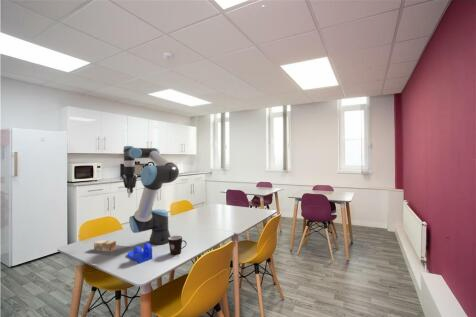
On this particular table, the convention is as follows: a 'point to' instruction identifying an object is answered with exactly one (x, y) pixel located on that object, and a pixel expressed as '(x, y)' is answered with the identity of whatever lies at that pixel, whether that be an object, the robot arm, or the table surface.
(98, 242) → the birch pillar
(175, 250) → the coffee mug
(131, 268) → the table surface
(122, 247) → the charcoal mat
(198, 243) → the table surface
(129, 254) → the bracket
